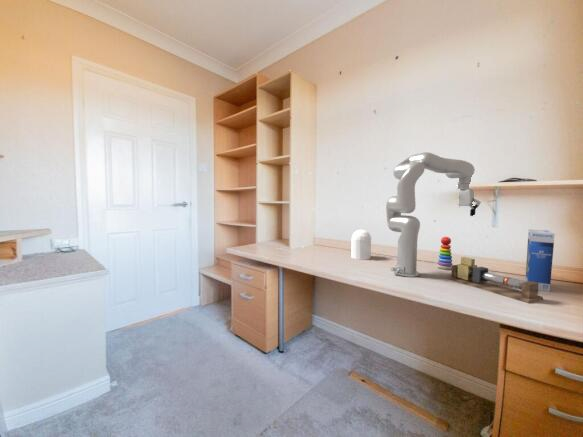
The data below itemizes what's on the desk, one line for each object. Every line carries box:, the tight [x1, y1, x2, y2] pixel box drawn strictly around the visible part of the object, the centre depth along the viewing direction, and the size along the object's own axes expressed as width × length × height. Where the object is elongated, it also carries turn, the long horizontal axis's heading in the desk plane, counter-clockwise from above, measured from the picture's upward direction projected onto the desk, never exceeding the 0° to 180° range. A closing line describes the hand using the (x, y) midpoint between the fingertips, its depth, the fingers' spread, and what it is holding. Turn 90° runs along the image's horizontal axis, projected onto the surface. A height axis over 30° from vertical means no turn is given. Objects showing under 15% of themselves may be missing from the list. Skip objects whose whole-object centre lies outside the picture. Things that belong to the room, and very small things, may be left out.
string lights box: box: [524, 229, 556, 293], centre depth 114 cm, size 13×8×26 cm, turn 141°
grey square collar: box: [472, 266, 489, 283], centre depth 117 cm, size 3×6×6 cm, turn 112°
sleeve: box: [457, 256, 478, 280], centre depth 122 cm, size 5×7×10 cm
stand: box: [446, 264, 544, 304], centre depth 113 cm, size 33×10×7 cm, turn 22°
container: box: [350, 229, 372, 261], centre depth 174 cm, size 14×13×20 cm
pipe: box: [469, 268, 526, 291], centre depth 113 cm, size 30×4×4 cm, turn 22°
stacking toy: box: [436, 236, 453, 271], centre depth 146 cm, size 8×8×19 cm
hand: (464, 215), depth 150 cm, fingers open, 9 cm apart
